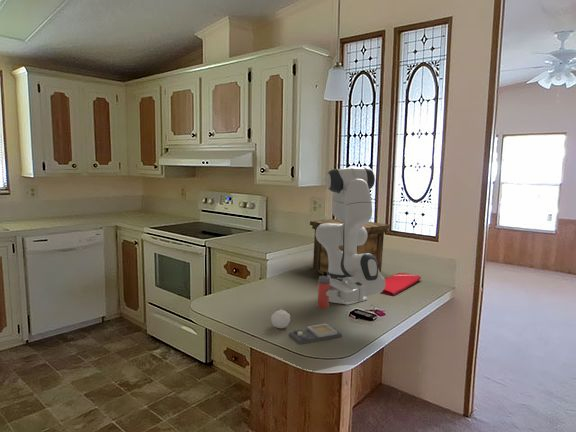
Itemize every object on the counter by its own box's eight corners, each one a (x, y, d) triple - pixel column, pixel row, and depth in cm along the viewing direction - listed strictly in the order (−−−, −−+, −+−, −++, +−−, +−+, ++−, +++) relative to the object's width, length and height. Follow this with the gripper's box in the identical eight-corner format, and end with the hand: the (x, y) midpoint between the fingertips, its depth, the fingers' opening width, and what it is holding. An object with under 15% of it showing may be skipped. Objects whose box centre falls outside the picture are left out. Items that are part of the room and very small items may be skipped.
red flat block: (366, 290, 230) (367, 284, 230) (397, 276, 262) (397, 271, 262) (393, 297, 220) (394, 290, 220) (421, 281, 252) (422, 275, 252)
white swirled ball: (288, 324, 176) (289, 306, 175) (291, 331, 169) (292, 313, 168) (270, 324, 175) (270, 306, 174) (271, 331, 168) (272, 313, 167)
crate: (350, 285, 237) (354, 229, 232) (307, 272, 262) (310, 221, 258) (386, 276, 260) (389, 224, 256) (343, 264, 286) (346, 217, 281)
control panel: (329, 328, 174) (329, 322, 173) (341, 336, 166) (341, 330, 165) (289, 334, 165) (289, 329, 165) (299, 344, 157) (300, 338, 157)
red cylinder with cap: (324, 304, 168) (326, 275, 167) (330, 307, 164) (332, 278, 163) (315, 305, 166) (316, 276, 165) (321, 309, 162) (322, 279, 161)
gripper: (336, 273, 179) (309, 276, 173) (366, 287, 161) (336, 290, 155) (336, 287, 180) (308, 291, 174) (365, 302, 162) (335, 306, 156)
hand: (321, 291), depth 164 cm, fingers closed on red cylinder with cap, 4 cm apart
